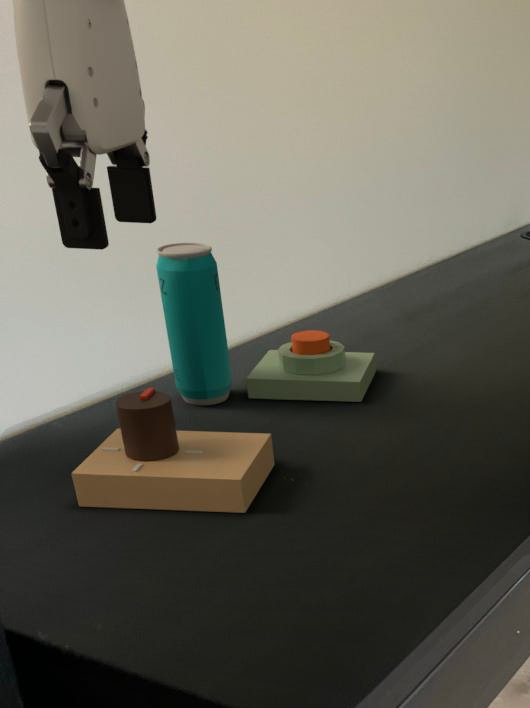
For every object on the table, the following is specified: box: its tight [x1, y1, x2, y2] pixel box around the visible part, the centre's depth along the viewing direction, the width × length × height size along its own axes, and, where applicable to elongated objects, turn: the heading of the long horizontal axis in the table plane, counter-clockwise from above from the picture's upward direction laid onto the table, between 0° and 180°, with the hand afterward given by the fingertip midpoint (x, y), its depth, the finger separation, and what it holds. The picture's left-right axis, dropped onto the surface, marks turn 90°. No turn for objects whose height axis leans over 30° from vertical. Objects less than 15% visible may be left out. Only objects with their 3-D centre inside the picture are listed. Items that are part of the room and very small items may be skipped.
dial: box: [114, 387, 179, 461], centre depth 83 cm, size 4×4×5 cm
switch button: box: [290, 330, 331, 355], centre depth 105 cm, size 4×4×2 cm
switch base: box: [245, 339, 377, 403], centre depth 107 cm, size 12×10×4 cm
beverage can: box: [155, 242, 233, 406], centre depth 100 cm, size 6×6×15 cm
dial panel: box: [71, 428, 275, 514], centre depth 85 cm, size 14×10×3 cm
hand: (112, 234), depth 75 cm, fingers open, 9 cm apart
